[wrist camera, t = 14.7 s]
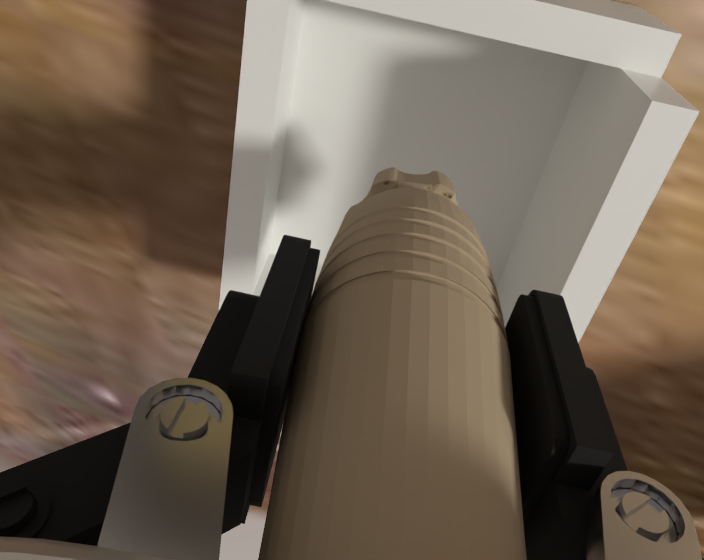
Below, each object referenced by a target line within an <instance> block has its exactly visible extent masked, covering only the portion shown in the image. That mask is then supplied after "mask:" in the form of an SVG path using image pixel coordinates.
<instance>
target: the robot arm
mask: <svg viewBox="0 0 704 560" xmlns="http://www.w3.org/2000/svg"><path fill="white" fill-rule="evenodd" d="M310 247H311V240H307V239H302V238H298V237H293V236H289V235H284V236H283V238H282V240H281V243H280V245H279V248H278V251H277V253H276V256H275V258H274V261H273V263H272V266H271V268H270V271H269V274H268V276H267V279H266V281H265V284H264V286H263V289H262V292H261V294H260V296H256V295H251V294H247V293H242V292H238V291H233V290H230V291H229V292H228V293H227V295H226V297H225V299H224V301H223V304H222V306H221V308H220V310H219V312H218V314H217V316H216V318H215V321H214V323H213V325H212V327H211V329H210V331H209V333H208V335H207V338H206V340H205V342H204V344H203V346H202V348H201V350H200V352H199V355H198V357H197V359H196V361H195V363H194V365H193V367H192V370H191V372H190V374H189V376H188V378H175V379H171V380H167V381H163V382H161V383H159V384H157V385H155V386H153V387H151V388H149V389H148V390H147V391H146V392H145V393H144V394H143V395H142V396H141V397H140V399H139V401H138V403H137V405H136V407H135V410H134V413H133V417H132V421H131V423H128V424H126V425H123V426H120V427H118V428H115V429H113V430H110V431H107V432H105V433H102V434H100V435H97V436H94V437H92V438H89V439H87V440H84V441H81V442H79V443H76V444H74V445H71V446H68V447H66V448H63V449H60V450H58V451H55V452H53V453H50V454H47V455H45V456H42V457H40V458H37V459H34V460H32V461H29V462H27V463H24V464H21V465H19V466H16V467H14V468H11V469H8V470H6V471H3V472H1V473H0V560H219V554H220V544H221V534H223V533H225V532H227V531H229V530H230V529H232V528H234V527H236V526H238V525H240V524H241V523H243V524H244V523H245V520H246V516H247V513H248V509H249V506H250V505H253V506H258V507H261V506H262V502H263V499H264V495H265V491H266V487H267V483H268V479H269V475H270V472H271V468H272V464H273V460H274V456H275V452H276V448H277V444H278V440H279V437H280V433H281V429H282V425H283V421H284V417H285V411H286V406H287V400H288V394H289V389H290V383H291V378H292V372H293V367H294V363H295V358H296V354H297V350H298V345H299V341H300V337H301V333H302V331H303V326H304V322H305V318H306V314H307V311H308V308H309V304H310V301H311V297H312V292H313V286H314V281H315V276H316V271H317V266H318V261H319V256H320V250H318V249H314V248H310ZM505 331H506V336H507V342H508V350H509V353H510V362H511V374H512V387H513V400H514V412H515V425H516V437H517V450H518V462H519V475H520V488H521V500H522V513H523V524H524V535H525V546H526V557H527V560H704V559H703V558H702V557H701V552H700V547H699V543H698V538H697V534H696V529H695V525H694V523H693V520H692V518H691V515H690V513H689V512H688V510H687V509H686V507H685V506H684V504H683V503H682V501H681V500H680V499H679V498H678V497H677V496H676V495H675V494H673V493H672V492H671V491H670V490H669V489H668V488H666V487H665V486H664V485H662V484H661V483H659V482H658V481H656V480H654V479H652V478H650V477H648V476H646V475H643V474H640V473H636V472H632V471H627V468H626V465H625V462H624V459H623V456H622V453H621V450H620V447H619V444H618V441H617V438H616V435H615V432H614V429H613V426H612V423H611V420H610V417H609V414H608V411H607V408H606V405H605V402H604V399H603V396H602V393H601V390H600V387H599V384H598V382H597V379H596V376H595V374H594V372H593V370H591V369H590V368H588V367H586V366H585V363H584V360H583V356H582V353H581V350H580V347H579V344H578V341H577V338H576V335H575V332H574V329H573V326H572V322H571V319H570V316H569V313H568V310H567V307H566V304H565V301H564V298H563V296H561V295H557V294H553V293H548V292H544V291H539V290H532V291H531V292H530V293H529V295H524V294H521V295H520V296H519V297H518V299H517V301H516V304H515V306H514V308H513V311H512V313H511V315H510V318H509V320H508V322H507V325H506V327H505Z"/></svg>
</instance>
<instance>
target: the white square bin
mask: <svg viewBox="0 0 704 560" xmlns="http://www.w3.org/2000/svg"><path fill="white" fill-rule="evenodd" d="M681 35H682V34H680V33H679V32H677V31H676V30H674V29H672V28H671V27H669V26H668V25H666V24H665V23H663V22H661V21H660V20H658V19H657V18H655V17H654V16H652V15H651V14H649V13H647V12H646V11H644V10H643V9H641V8H640V7H638V6H633V5H629V4H625V3H620V2H616V1H612V0H247V7H246V17H245V28H244V39H243V50H242V61H241V72H240V83H239V94H238V105H237V116H236V127H235V138H234V149H233V159H232V170H231V181H230V192H229V203H228V214H227V225H226V236H225V247H224V258H223V269H222V280H221V290H220V301H219V310H220V308H221V306H222V304H223V301H224V299H225V297H226V295H227V293H228V292H229V291H230V290H233V291H238V292H242V293H247V294H251V295H256V296H260V294H261V292H262V289H263V286H264V284H265V281H266V279H267V276H268V274H269V271H270V268H271V266H272V263H273V261H274V258H275V256H276V253H277V251H278V248H279V245H280V243H281V240H282V238H283V236H284V235H289V236H293V237H298V238H302V239H307V240H311V247H310V248H314V249H318V250H320V256H319V261H318V266H317V271H316V276H315V281H314V286H313V291H314V287H315V284H316V281H317V279H318V276H319V274H320V272H321V268H322V266H323V263H324V260H325V258H326V255H327V253H328V251H329V249H330V246H331V244H332V242H333V240H334V238H335V236H336V234H337V232H338V231H339V228H340V226H341V224H342V221H343V219H344V217H345V215H346V213H347V211H348V210H349V209H350V207H351V206H353V205H356V204H358V203H360V202H361V201H362V200H363V199H364V198H365V197H366V196H367V194H368V193H369V191H370V189H371V186H372V183H373V180H374V178H375V176H376V175H377V173H378V172H380V171H382V170H384V169H387V168H391V167H394V168H397V169H398V170H399V171H401V172H404V173H408V174H414V175H416V174H428V173H430V172H432V171H438V172H440V173H442V174H444V175H446V176H447V177H448V178H450V180H451V182H452V183H453V186H454V190H455V193H456V201H457V203H458V205H459V208H460V209H461V210H463V211H464V212H465V213H466V215H467V216H469V217H470V219H471V220H472V222H473V224H474V226H475V229H476V232H477V233H478V236H479V238H480V240H481V242H482V244H483V247H484V249H485V252H486V255H487V257H488V261H489V264H490V268H491V271H492V275H493V279H494V282H495V286H496V289H497V293H498V297H499V301H500V306H501V310H502V315H503V320H504V327H506V325H507V322H508V320H509V318H510V315H511V313H512V311H513V308H514V306H515V304H516V301H517V299H518V297H519V296H520V295H521V294H524V295H529V293H530V292H531V291H532V290H539V291H544V292H548V293H553V294H557V295H561V296H563V298H564V301H565V304H566V307H567V310H568V313H569V316H570V319H571V322H572V326H573V329H574V332H575V335H576V338H577V341H578V343H579V341H580V339H581V337H582V335H583V333H584V331H585V330H586V328H587V326H588V324H589V322H590V320H591V318H592V316H593V314H594V312H595V310H596V309H597V307H598V305H599V303H600V301H601V299H602V297H603V295H604V293H605V291H606V289H607V287H608V286H609V284H610V282H611V280H612V278H613V276H614V274H615V272H616V270H617V268H618V266H619V265H620V263H621V261H622V259H623V257H624V255H625V253H626V251H627V249H628V247H629V245H630V244H631V242H632V240H633V238H634V236H635V234H636V232H637V230H638V228H639V226H640V224H641V223H642V221H643V219H644V217H645V215H646V213H647V211H648V209H649V207H650V205H651V203H652V201H653V200H654V198H655V196H656V194H657V192H658V190H659V188H660V186H661V184H662V182H663V180H664V179H665V177H666V175H667V173H668V171H669V169H670V167H671V165H672V163H673V161H674V159H675V158H676V156H677V154H678V152H679V150H680V148H681V146H682V144H683V142H684V140H685V138H686V137H687V135H688V133H689V131H690V129H691V127H692V125H693V123H694V121H695V119H696V117H697V115H698V114H699V112H700V111H698V110H697V109H696V108H695V107H694V106H693V105H692V104H690V103H689V102H688V101H687V100H686V99H685V98H684V97H683V96H681V95H680V94H679V93H678V92H677V91H676V90H675V89H673V88H672V87H671V86H670V85H669V84H668V83H667V82H665V81H664V80H663V79H662V78H661V77H662V75H663V73H664V71H665V69H666V66H667V64H668V62H669V60H670V58H671V56H672V54H673V52H674V49H675V47H676V45H677V43H678V41H679V39H680V37H681ZM312 294H313V292H312Z"/></svg>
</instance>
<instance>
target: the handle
mask: <svg viewBox="0 0 704 560" xmlns="http://www.w3.org/2000/svg"><path fill="white" fill-rule="evenodd" d="M258 560H527V557H526V546H525V535H524V524H523V513H522V500H521V488H520V475H519V462H518V450H517V437H516V425H515V412H514V400H513V387H512V374H511V362H510V353H509V350H508V342H507V336H506V331H505V327H504V320H503V315H502V310H501V306H500V301H499V297H498V293H497V289H496V286H495V282H494V279H493V275H492V271H491V268H490V264H489V261H488V257H487V255H486V252H485V249H484V247H483V244H482V242H481V240H480V238H479V236H478V233H477V232H476V229H475V226H474V224H473V222H472V220H471V219H470V217H469V216H467V215H466V213H465V212H464V211H463V210H461V209H460V208H459V205H458V203H457V201H456V193H455V190H454V186H453V183H452V182H451V180H450V178H448V177H447V176H446V175H444V174H442V173H440V172H438V171H432V172H430V173H428V174H416V175H414V174H408V173H404V172H401V171H399V170H398V169H397V168H394V167H391V168H387V169H384V170H382V171H380V172H378V173H377V175H376V176H375V178H374V180H373V183H372V186H371V189H370V191H369V193H368V194H367V196H366V197H365V198H364V199H363V200H362V201H361V202H360V203H358V204H356V205H353V206H351V207H350V209H349V210H348V211H347V213H346V215H345V217H344V219H343V221H342V224H341V226H340V228H339V231H338V232H337V234H336V236H335V238H334V240H333V242H332V244H331V246H330V249H329V251H328V253H327V255H326V258H325V260H324V263H323V266H322V268H321V272H320V274H319V276H318V279H317V281H316V284H315V287H314V291H313V294H312V297H311V301H310V304H309V308H308V311H307V314H306V318H305V322H304V326H303V331H302V333H301V337H300V341H299V345H298V350H297V354H296V358H295V363H294V367H293V372H292V378H291V383H290V389H289V394H288V400H287V406H286V411H285V417H284V422H283V428H282V434H281V439H280V445H279V450H278V456H277V461H276V467H275V473H274V478H273V484H272V489H271V495H270V501H269V506H268V511H267V516H266V522H265V528H264V532H263V538H262V543H261V548H260V553H259V558H258Z"/></svg>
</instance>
